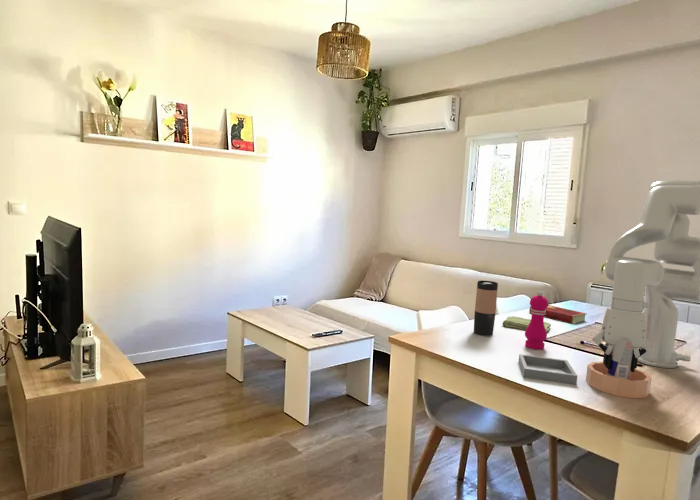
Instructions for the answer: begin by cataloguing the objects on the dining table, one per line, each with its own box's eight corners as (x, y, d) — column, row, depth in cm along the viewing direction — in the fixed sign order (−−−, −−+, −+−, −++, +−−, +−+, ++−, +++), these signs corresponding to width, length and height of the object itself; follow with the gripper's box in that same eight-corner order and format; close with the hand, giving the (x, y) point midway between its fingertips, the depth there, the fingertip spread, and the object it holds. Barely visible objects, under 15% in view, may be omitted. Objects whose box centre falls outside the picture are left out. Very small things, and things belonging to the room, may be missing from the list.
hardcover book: (572, 324, 203) (573, 315, 202) (529, 314, 219) (529, 305, 219) (585, 321, 210) (586, 312, 210) (542, 311, 227) (543, 303, 226)
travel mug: (489, 331, 181) (494, 281, 179) (496, 336, 174) (501, 284, 172) (470, 330, 181) (474, 280, 179) (476, 335, 173) (480, 283, 171)
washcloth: (547, 335, 182) (548, 327, 182) (501, 327, 190) (502, 319, 190) (550, 328, 193) (551, 321, 193) (507, 321, 202) (507, 314, 201)
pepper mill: (547, 351, 159) (553, 294, 157) (525, 348, 161) (531, 292, 159) (543, 345, 166) (548, 290, 164) (522, 342, 168) (527, 288, 166)
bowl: (637, 381, 135) (639, 366, 134) (657, 401, 120) (659, 385, 120) (581, 373, 138) (583, 359, 138) (594, 392, 124) (596, 376, 123)
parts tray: (566, 368, 143) (567, 360, 142) (576, 384, 129) (577, 375, 129) (518, 361, 146) (519, 354, 146) (523, 377, 132) (524, 368, 132)
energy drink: (609, 373, 133) (614, 333, 132) (630, 378, 129) (635, 337, 128) (605, 378, 129) (610, 336, 127) (627, 384, 125) (632, 341, 124)
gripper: (656, 305, 129) (648, 368, 130) (589, 299, 133) (582, 360, 135) (667, 311, 121) (659, 378, 123) (596, 304, 125) (588, 369, 127)
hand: (619, 368), depth 129 cm, fingers closed on energy drink, 5 cm apart
